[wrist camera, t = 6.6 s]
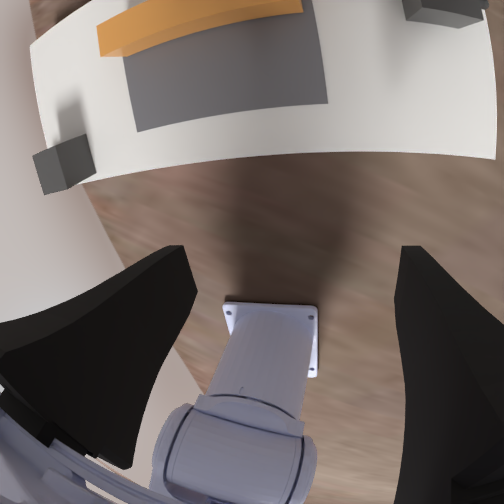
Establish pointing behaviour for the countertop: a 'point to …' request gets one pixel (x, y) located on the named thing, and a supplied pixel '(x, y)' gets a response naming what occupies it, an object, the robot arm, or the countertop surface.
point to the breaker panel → (269, 87)
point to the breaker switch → (179, 21)
